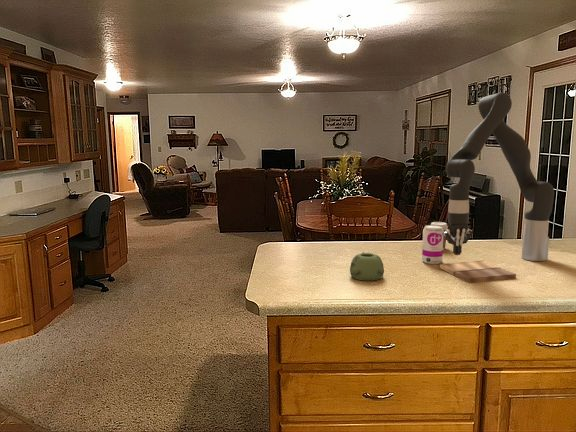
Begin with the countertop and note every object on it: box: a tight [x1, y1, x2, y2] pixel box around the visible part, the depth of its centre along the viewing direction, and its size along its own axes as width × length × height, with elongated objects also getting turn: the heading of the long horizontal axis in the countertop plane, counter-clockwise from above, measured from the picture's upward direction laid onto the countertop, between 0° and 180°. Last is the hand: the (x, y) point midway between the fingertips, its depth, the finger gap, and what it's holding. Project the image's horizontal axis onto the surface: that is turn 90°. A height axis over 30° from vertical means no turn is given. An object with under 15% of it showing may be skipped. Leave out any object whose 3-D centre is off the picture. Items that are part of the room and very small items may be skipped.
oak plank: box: [439, 259, 500, 276], centre depth 189 cm, size 20×9×2 cm, turn 105°
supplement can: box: [421, 224, 444, 265], centre depth 201 cm, size 8×8×15 cm
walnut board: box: [453, 266, 517, 284], centre depth 180 cm, size 20×9×2 cm, turn 105°
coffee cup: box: [430, 221, 448, 251], centre depth 226 cm, size 9×9×12 cm
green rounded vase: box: [349, 251, 385, 282], centre depth 182 cm, size 16×13×9 cm
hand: (457, 254), depth 189 cm, fingers closed
